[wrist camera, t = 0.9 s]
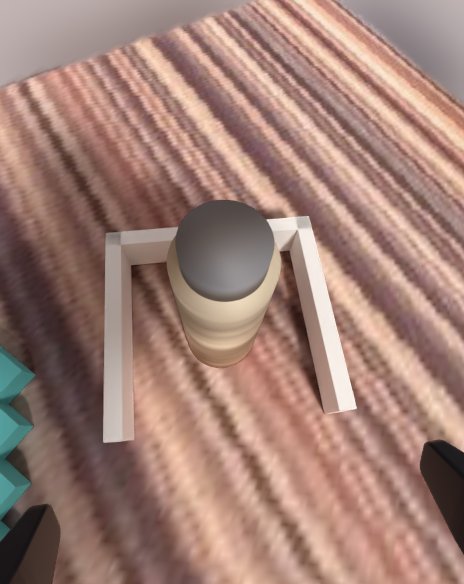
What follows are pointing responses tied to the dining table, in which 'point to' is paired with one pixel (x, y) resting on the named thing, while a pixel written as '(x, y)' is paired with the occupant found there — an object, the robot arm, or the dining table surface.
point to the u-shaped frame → (154, 249)
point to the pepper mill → (223, 278)
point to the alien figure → (11, 432)
